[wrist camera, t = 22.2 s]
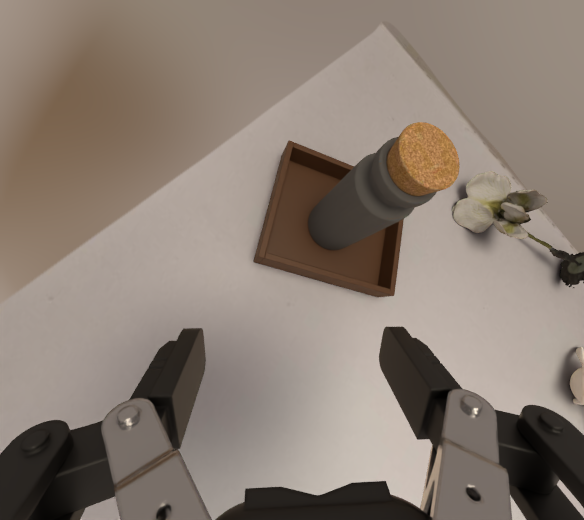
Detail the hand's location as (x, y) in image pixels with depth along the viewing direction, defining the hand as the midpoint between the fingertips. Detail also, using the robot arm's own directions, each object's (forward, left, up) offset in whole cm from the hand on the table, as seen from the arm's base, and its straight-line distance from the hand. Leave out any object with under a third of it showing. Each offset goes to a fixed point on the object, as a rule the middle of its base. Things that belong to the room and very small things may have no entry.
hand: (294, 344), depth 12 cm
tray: (+7, +13, -16) cm, 22 cm away
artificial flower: (+35, +20, -16) cm, 43 cm away
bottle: (+6, +13, -16) cm, 21 cm away
